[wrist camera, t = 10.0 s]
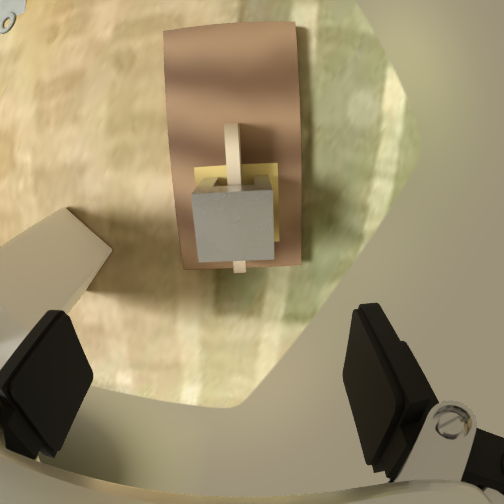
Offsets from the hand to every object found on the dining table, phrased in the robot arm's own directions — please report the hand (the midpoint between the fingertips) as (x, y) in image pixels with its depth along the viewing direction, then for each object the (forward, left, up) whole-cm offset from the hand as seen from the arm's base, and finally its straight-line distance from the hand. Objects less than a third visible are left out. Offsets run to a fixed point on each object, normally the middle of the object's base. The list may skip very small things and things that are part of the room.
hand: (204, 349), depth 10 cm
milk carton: (+5, -18, -21) cm, 28 cm away
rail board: (-4, 0, -20) cm, 21 cm away
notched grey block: (+1, 0, -19) cm, 19 cm away
